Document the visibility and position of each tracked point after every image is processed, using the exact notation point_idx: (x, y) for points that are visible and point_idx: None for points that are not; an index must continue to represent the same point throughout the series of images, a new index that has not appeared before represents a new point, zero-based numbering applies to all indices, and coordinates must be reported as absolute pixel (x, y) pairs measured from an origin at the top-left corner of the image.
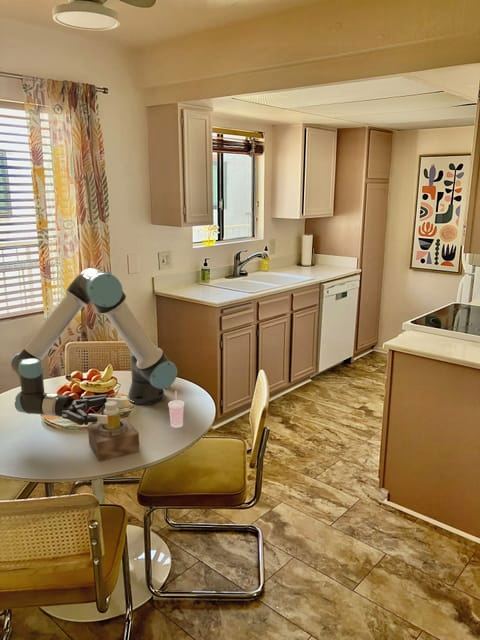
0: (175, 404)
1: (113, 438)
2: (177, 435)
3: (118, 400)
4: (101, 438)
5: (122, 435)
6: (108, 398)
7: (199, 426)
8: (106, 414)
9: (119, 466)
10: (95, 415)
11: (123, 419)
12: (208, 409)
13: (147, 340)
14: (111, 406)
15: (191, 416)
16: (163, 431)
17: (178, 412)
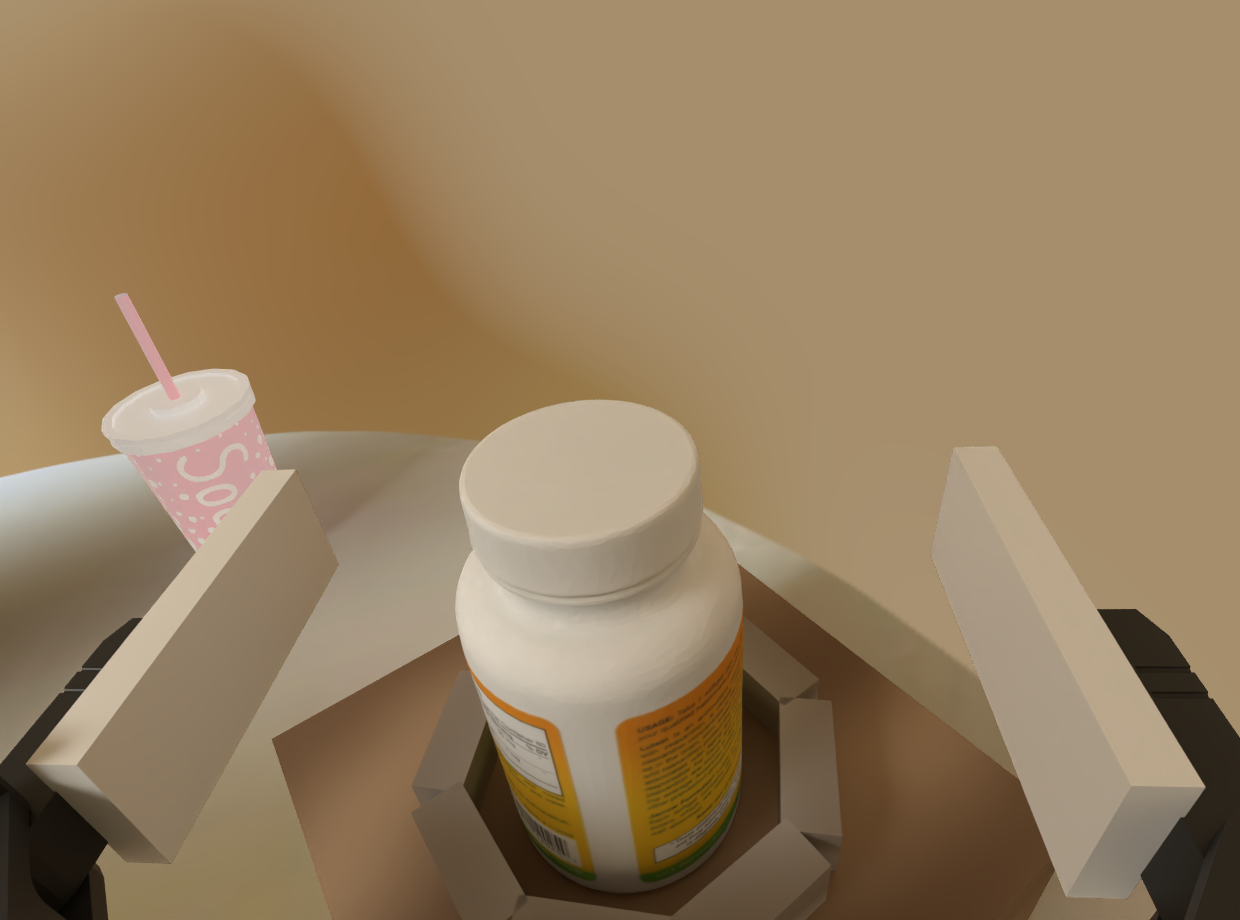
0: (200, 399)
1: (866, 674)
2: (421, 510)
3: (260, 545)
4: (941, 819)
5: (761, 616)
6: (112, 712)
7: (315, 452)
8: (739, 612)
9: (967, 706)
10: (1096, 610)
11: (334, 753)
12: (85, 464)
13: None
14: (685, 437)
15: (148, 511)
16: (343, 594)
17: (261, 430)
